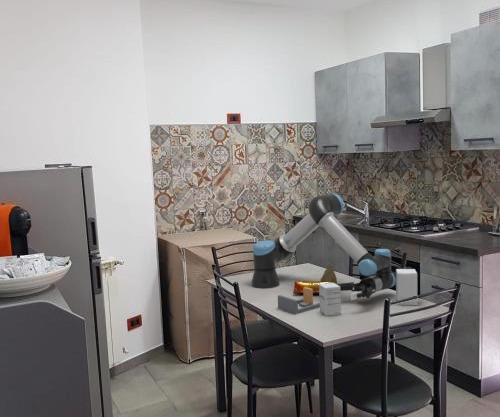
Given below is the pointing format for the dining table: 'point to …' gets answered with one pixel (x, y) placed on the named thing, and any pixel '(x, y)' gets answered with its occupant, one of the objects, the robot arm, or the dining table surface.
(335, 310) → the supplement box
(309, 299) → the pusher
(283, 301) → the grey l-shaped block
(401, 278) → the supplement box
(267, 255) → the robot arm
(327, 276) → the rock
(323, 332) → the dining table surface
